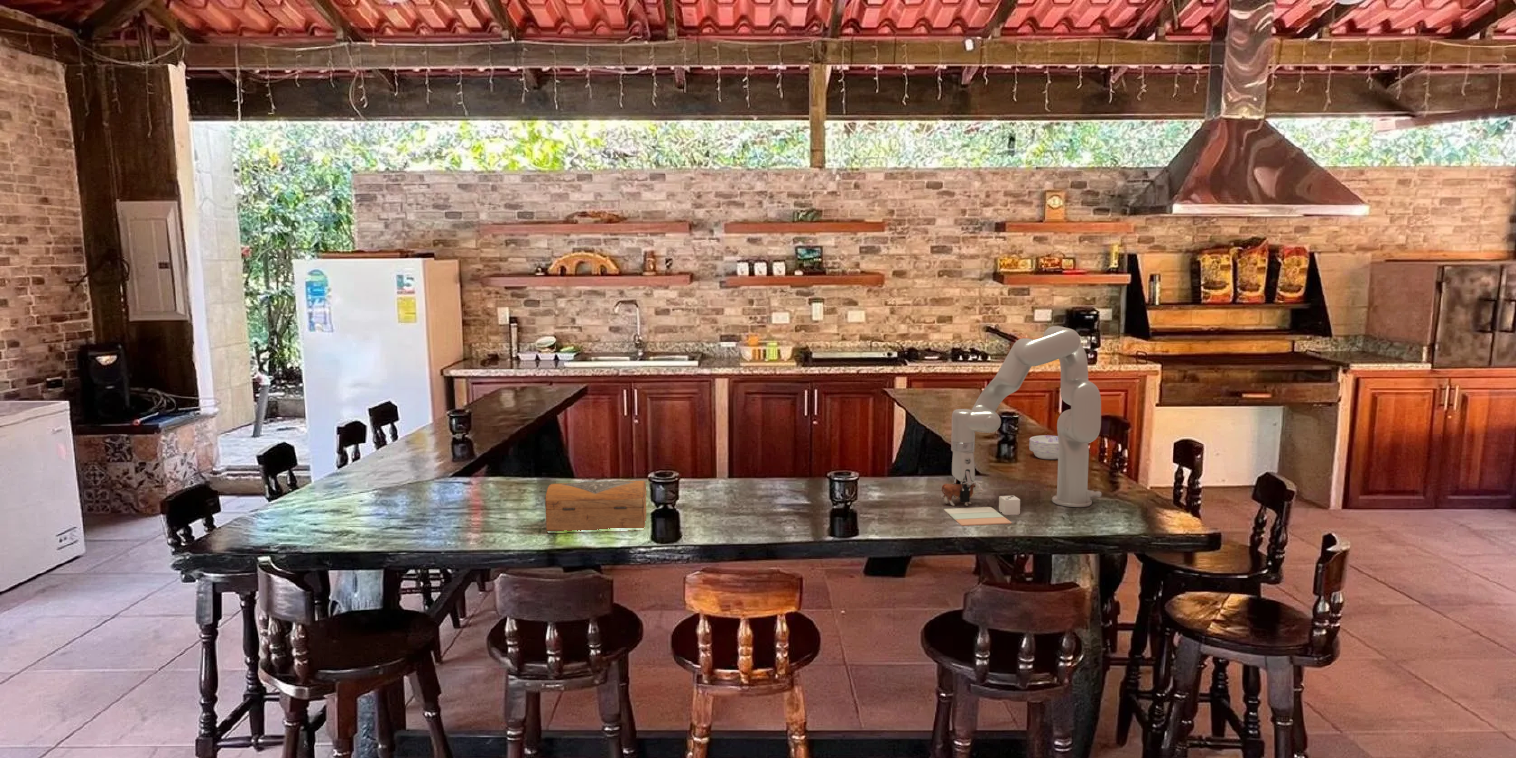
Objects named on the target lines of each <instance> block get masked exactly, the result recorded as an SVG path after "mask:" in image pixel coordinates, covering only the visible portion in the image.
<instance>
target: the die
mask: <svg viewBox="0 0 1516 758" xmlns="http://www.w3.org/2000/svg"><path fill="white" fill-rule="evenodd" d="M998 497H999V498H998V511H999V512H1000V513H1001V512H1002V513H1001V514H1002V515H1004V516H1012V515H1013V516H1016V515H1017V516H1018V515H1019V514H1020V513H1021V510H1020V509H1021V499H1020V498H1019V497H1017V496H1015V495H1000V496H998Z"/></svg>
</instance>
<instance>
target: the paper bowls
mask: <svg viewBox="0 0 1516 758" xmlns="http://www.w3.org/2000/svg"><path fill="white" fill-rule="evenodd" d="M1028 447H1029V451H1031V452H1033V454H1034V456H1035V457H1036V458H1039V459H1040V460H1041V459H1042V460H1058V451H1059V443H1058V435H1051V434H1050V435H1048V434H1047V435H1046V434H1044V435H1034V436H1031V437H1030V438H1029V445H1028Z"/></svg>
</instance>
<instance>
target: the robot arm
mask: <svg viewBox="0 0 1516 758" xmlns="http://www.w3.org/2000/svg"><path fill="white" fill-rule="evenodd" d="M1057 360H1059V365H1060V397H1061V400H1062V401H1063V402H1064V403H1065V404H1067V405H1069V406H1070V409H1066V410H1064V411H1063V412H1062V413H1060V415H1059V416H1058V418H1057V423H1056V430H1057V436H1058V443H1059V451H1058V459H1057V482H1056V483H1057V484H1056V485H1057V487H1056V495H1053V496H1052V497H1051V501H1052V503H1053V504H1055V505H1058V506H1062V507H1068V508H1085V507H1090V506H1091V505H1092V504H1093V501H1092V498H1101V497H1102V492H1101V490H1098V491H1096V490H1095V491H1094V490H1090V489H1088V482H1089V481H1088V479H1089V455H1090V452H1089V451H1090V449H1089V444H1091V443H1092V442H1094V441H1096V440H1097V439H1098V436H1099V435H1100V432H1101V427H1102V399H1101V398H1102V396H1101V392H1100V390H1099V388H1098V386H1097V385H1096V384H1095V383H1094V382H1092V381H1090V380H1089V367H1088V366H1089V365H1088V364H1089V363H1088V357H1087V352H1086V350H1085V349H1084V347H1083V344H1082V341H1081V337H1080V335H1079V333H1078V331H1076V330H1075V329H1072V328H1069V327H1064V326H1060V325H1053V326H1049V327H1048V328H1047V329H1045V331H1044V332H1043V335H1042V336H1041V337H1039V338H1036V339H1031V338H1026V337H1025V338H1024V337H1023V338H1019V339H1018V340H1016V341H1015V342H1014V343H1013V345H1012V347H1011V348H1010V350H1009V352H1008V354H1007V355H1006V357H1005V359H1004V361H1003V363H1002V364H1001V366H1000V368H999V370H998V371H997V373H996V375H995V376H994V377H993V378H992V380H990V381H989V383H988V384H987V385H986V387H984V389H983V390H982V391H981V393H980V394H979V396H978V398H977V400H975V401H976V402H975V403H974V405H973V406H972V408H971V409H969V408H958V409H957V408H956V409H954V410H953V411H952V413H951V436H950V437H951V445H950V446H951V447H950V450H951V452H952V458H951V459H952V460H951V461H952V462H951V475H952V476H953V479H954V481H953V484H961V490H960V497H958V499H959V502H960V503H965V502H967V503H968V502H971V498H970V486H971V484H972V483H971V482H973V483H974V482H975V479H976V476H975V475H976V470H975V468H976V467H975V454H974V452H975V445H976V444H975V439H976V438H975V437H976V432H979V433H988V434H989V433H991V434H992V433H994V432H997V430H999V428H1000V427H1001V424H1002V420H1001V417H1000V415H999V414H998V413H997V412H996V411H997V409H998V407H999V406H1000V405H1001V403H1002V402H1003V401H1004V399H1005V398H1007V397H1008V396H1009V395H1011V394H1013V393H1015V392H1017V391H1018V390H1019V389H1020V388H1021V386H1022V384H1023V383H1024V381H1025V379H1026V377H1027V376H1028V374H1029V372H1030V370H1031V369H1032V367H1038V366H1042V365H1046V364H1049V363H1052V362H1054V361H1057ZM965 483H966V484H965ZM963 484H964V485H963ZM953 497H954V498H955V496H953Z"/></svg>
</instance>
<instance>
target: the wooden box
mask: <svg viewBox="0 0 1516 758" xmlns="http://www.w3.org/2000/svg"><path fill="white" fill-rule="evenodd" d="M544 505H545V522H546V523H545V524H546V525H545V527H546V532H547V531H564V530H567V531H572V530H577V531H578V530H580V531H581V530H597V529H598V530H599V529H608V528H609V529H610V528H644V527H645V528H646V523H645V521H646V522H647V517H646V516H647V483H646V481H645V480H621V481H620V480H618V481H617V480H616V481H615V480H611V481H584V482H582V481H581V482H570V483H569V482H566V483H565V482H564V483H551V484H549V485H548V486H547V490H546V492H545V504H544ZM645 528H644V529H645Z"/></svg>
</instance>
